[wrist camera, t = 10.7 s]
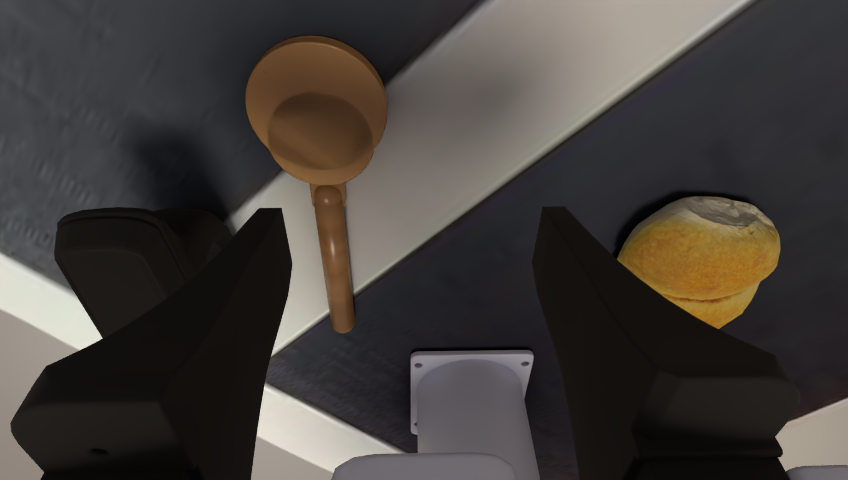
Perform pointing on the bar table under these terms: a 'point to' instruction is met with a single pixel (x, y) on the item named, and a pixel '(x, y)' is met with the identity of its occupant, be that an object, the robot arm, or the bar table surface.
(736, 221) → the bread roll
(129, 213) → the controller
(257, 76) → the spoon
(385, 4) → the bar table surface
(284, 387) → the bar table surface
